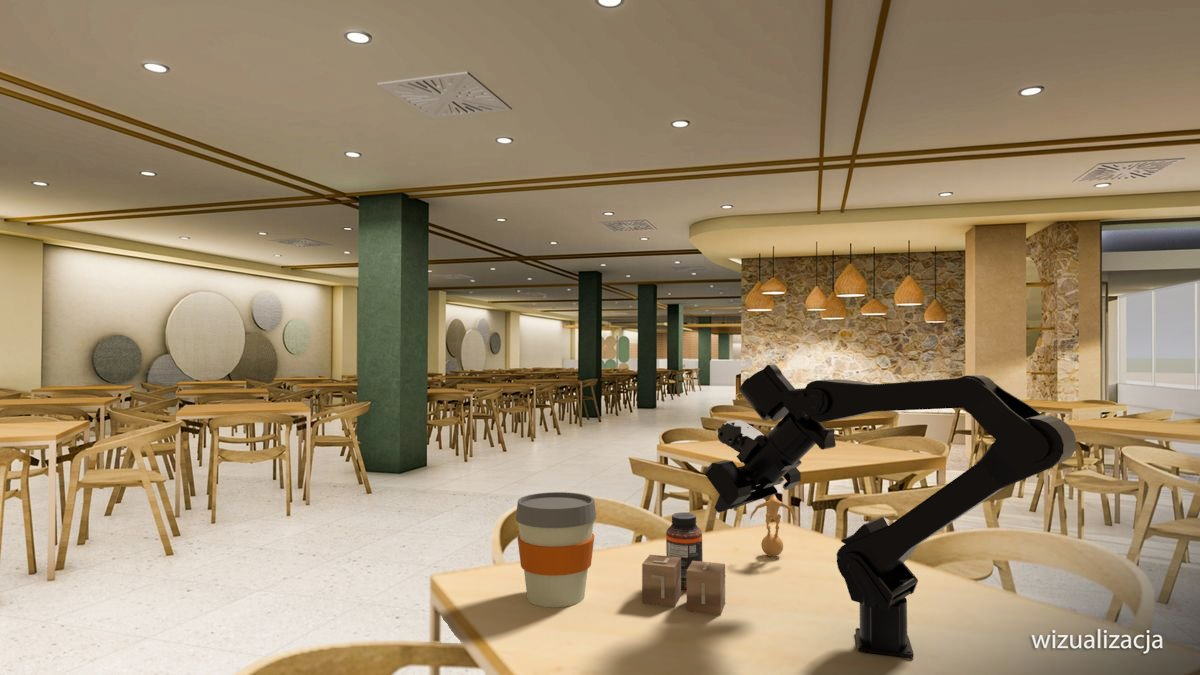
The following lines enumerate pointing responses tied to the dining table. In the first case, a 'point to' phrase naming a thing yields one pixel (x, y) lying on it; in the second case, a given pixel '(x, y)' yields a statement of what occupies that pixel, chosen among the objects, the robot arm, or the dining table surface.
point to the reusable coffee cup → (555, 546)
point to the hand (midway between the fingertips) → (722, 508)
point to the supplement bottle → (684, 542)
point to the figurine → (772, 542)
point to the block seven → (661, 580)
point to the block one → (706, 587)
